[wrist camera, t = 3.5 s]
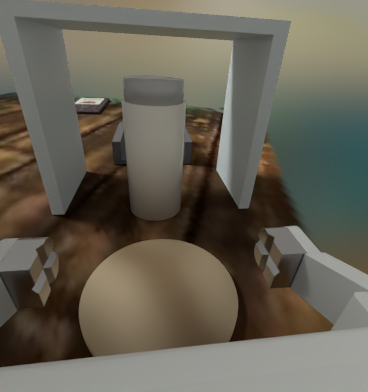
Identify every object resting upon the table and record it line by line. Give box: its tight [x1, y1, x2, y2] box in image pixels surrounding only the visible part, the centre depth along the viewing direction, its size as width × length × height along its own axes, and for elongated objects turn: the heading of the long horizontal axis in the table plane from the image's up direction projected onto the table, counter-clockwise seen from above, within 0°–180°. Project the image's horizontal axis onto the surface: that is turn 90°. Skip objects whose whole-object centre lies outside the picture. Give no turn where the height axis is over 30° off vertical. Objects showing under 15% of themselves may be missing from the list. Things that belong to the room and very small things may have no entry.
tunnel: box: [0, 0, 291, 215], centre depth 22 cm, size 9×18×15 cm, turn 97°
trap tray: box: [112, 121, 192, 164], centre depth 35 cm, size 10×10×3 cm
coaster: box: [79, 239, 238, 357], centre depth 14 cm, size 9×9×1 cm
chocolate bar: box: [74, 98, 109, 114], centre depth 61 cm, size 9×1×18 cm
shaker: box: [122, 76, 186, 221], centre depth 20 cm, size 5×5×11 cm
